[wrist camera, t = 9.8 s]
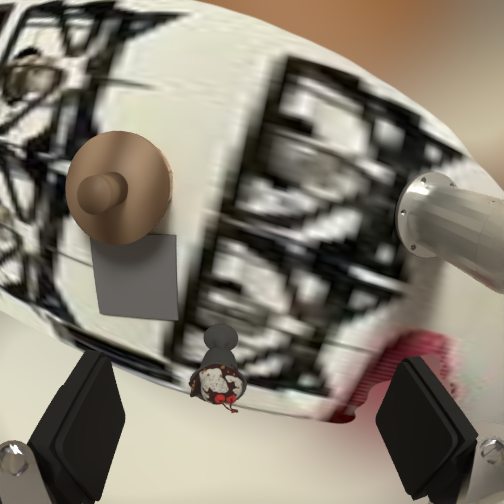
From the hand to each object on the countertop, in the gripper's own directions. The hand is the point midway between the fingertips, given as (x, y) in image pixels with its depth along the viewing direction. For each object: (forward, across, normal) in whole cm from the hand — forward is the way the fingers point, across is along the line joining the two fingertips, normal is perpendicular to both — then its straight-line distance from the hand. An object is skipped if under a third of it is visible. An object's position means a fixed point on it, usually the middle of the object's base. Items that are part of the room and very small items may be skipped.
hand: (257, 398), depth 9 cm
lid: (+25, +14, -3) cm, 29 cm away
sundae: (+30, +2, +18) cm, 35 cm away
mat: (+30, +14, +9) cm, 34 cm away
